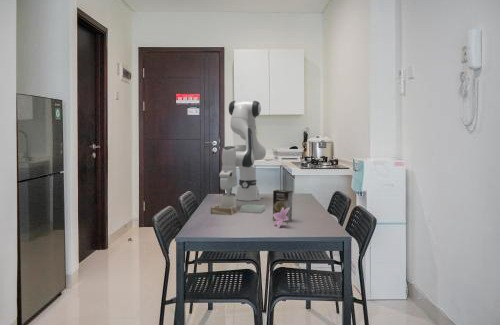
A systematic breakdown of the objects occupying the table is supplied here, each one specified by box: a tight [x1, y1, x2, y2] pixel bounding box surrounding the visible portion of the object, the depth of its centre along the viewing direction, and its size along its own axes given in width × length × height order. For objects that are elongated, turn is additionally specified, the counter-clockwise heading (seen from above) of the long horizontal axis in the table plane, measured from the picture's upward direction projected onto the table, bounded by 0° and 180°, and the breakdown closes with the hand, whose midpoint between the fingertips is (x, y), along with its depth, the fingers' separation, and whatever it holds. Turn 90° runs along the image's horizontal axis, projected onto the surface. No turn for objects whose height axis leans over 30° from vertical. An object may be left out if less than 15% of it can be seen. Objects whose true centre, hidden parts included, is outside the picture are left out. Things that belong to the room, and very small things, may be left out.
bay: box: [210, 204, 237, 216], centre depth 247 cm, size 10×12×4 cm
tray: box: [240, 204, 266, 214], centre depth 253 cm, size 10×12×3 cm
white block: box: [221, 192, 238, 208], centre depth 256 cm, size 5×8×9 cm, turn 72°
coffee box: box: [272, 189, 293, 223], centre depth 226 cm, size 9×6×16 cm
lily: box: [272, 207, 290, 229], centre depth 212 cm, size 12×12×10 cm
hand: (229, 195), depth 256 cm, fingers closed on white block
